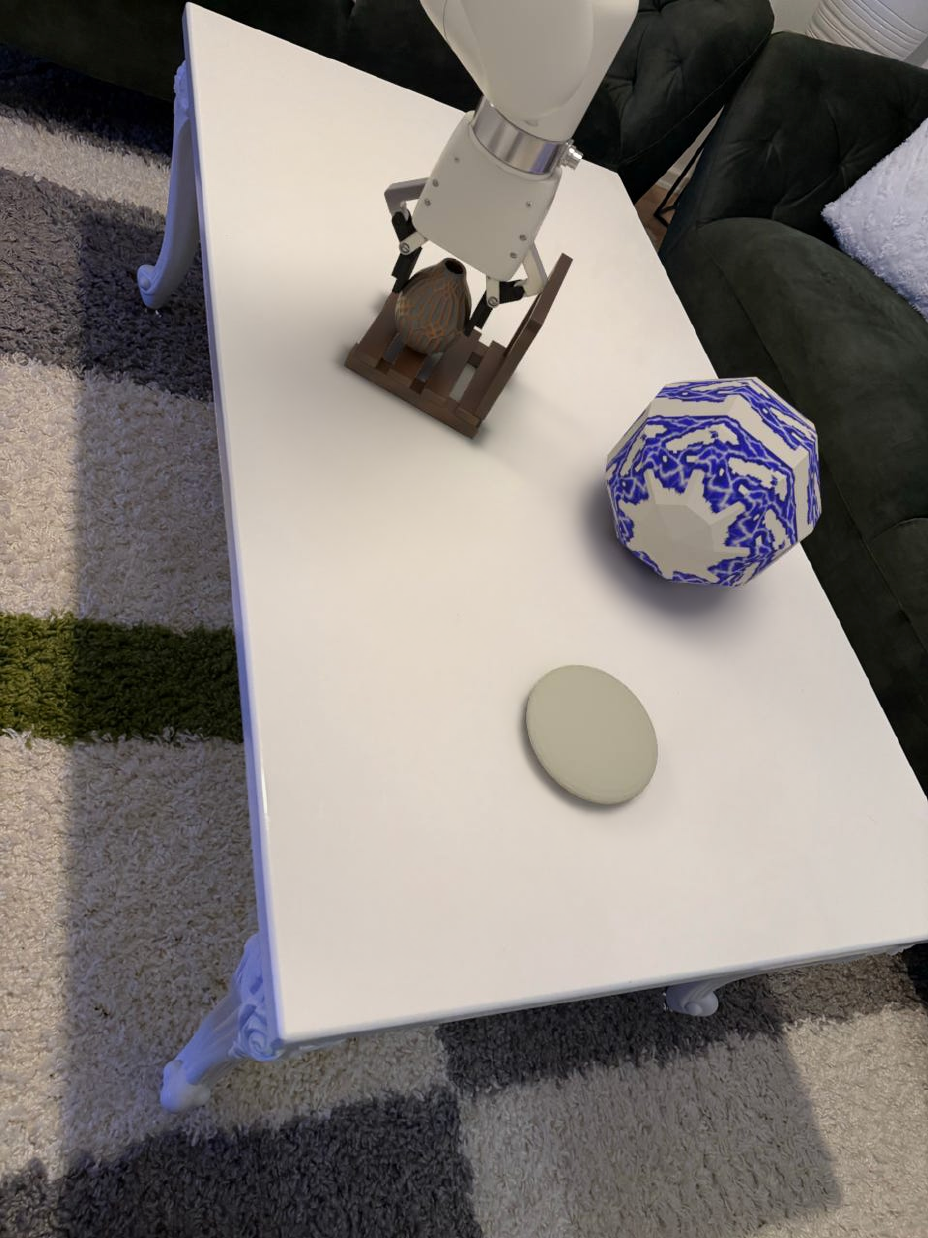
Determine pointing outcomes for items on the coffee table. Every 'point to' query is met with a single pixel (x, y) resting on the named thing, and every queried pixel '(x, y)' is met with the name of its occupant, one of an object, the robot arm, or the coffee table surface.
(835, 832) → the coffee table surface
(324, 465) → the coffee table surface
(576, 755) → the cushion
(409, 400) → the rack
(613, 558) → the coffee table surface
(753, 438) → the ornament
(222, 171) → the coffee table surface
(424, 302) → the vase
